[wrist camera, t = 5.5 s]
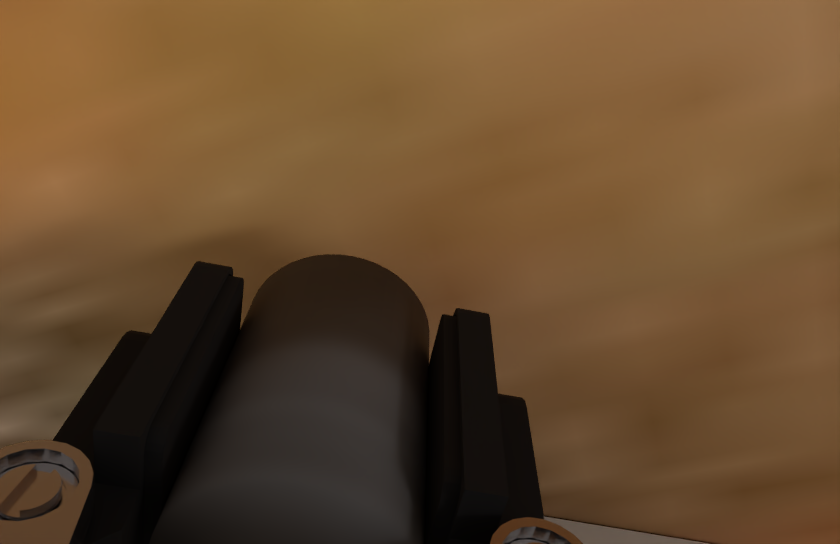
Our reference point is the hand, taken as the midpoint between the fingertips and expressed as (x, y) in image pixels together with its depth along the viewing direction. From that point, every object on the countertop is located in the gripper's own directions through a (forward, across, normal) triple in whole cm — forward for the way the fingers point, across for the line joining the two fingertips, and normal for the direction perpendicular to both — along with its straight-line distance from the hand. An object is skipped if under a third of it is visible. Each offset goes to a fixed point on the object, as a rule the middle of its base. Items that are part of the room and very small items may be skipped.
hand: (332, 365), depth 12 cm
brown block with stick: (+1, 0, +10) cm, 10 cm away
